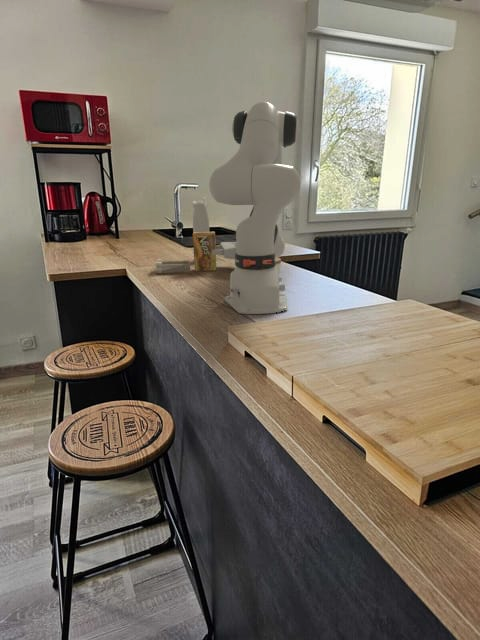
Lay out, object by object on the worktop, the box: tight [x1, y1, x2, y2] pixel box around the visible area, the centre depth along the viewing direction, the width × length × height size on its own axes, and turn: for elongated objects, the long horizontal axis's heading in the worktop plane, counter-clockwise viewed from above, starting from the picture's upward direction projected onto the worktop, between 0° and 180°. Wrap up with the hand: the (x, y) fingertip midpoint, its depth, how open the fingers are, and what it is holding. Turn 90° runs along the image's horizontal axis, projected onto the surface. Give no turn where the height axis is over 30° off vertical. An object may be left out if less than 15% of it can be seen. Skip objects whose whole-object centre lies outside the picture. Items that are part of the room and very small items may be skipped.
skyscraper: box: [191, 196, 210, 261], centre depth 189 cm, size 8×8×28 cm
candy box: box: [192, 231, 217, 272], centre depth 171 cm, size 9×4×15 cm, turn 92°
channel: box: [155, 258, 191, 276], centre depth 171 cm, size 10×13×4 cm
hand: (210, 250), depth 171 cm, fingers open, 8 cm apart
